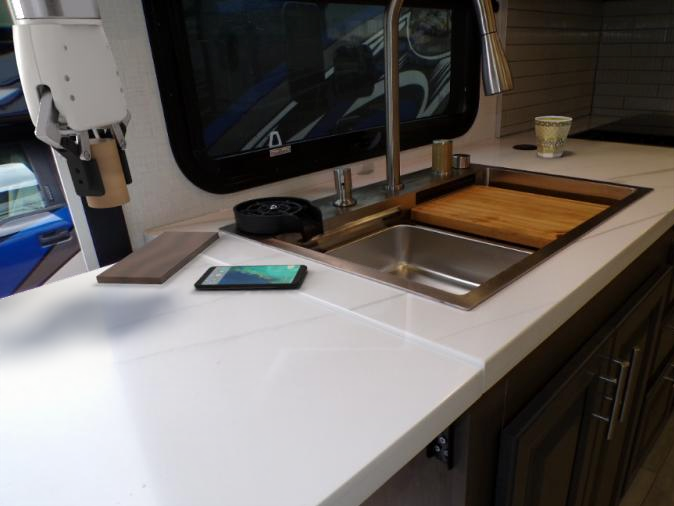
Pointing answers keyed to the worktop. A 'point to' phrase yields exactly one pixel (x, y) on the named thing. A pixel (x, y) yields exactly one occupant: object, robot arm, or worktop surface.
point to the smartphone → (252, 277)
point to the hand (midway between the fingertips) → (105, 187)
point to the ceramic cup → (551, 135)
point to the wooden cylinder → (108, 174)
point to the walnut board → (158, 258)
